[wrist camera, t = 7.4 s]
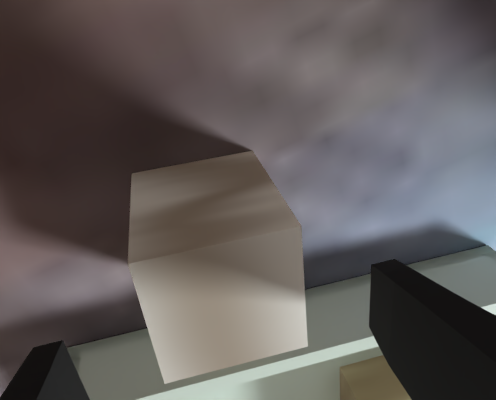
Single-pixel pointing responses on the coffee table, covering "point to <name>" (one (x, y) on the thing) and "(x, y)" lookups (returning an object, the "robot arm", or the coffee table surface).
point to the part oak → (370, 381)
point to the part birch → (216, 265)
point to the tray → (285, 364)
